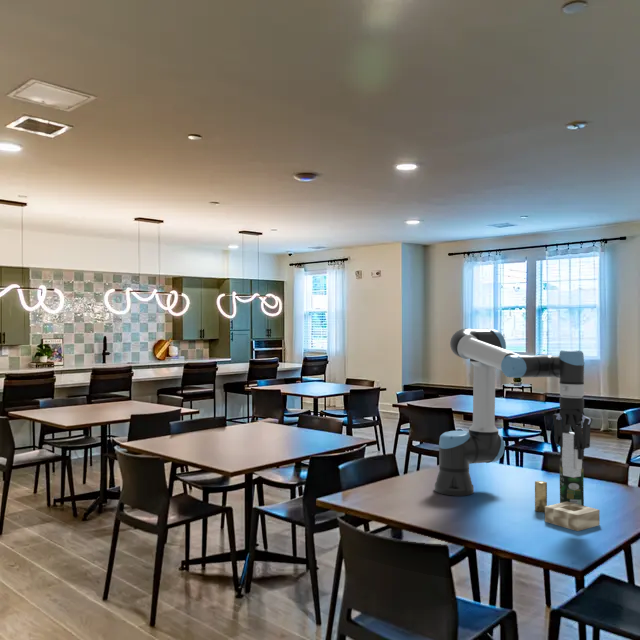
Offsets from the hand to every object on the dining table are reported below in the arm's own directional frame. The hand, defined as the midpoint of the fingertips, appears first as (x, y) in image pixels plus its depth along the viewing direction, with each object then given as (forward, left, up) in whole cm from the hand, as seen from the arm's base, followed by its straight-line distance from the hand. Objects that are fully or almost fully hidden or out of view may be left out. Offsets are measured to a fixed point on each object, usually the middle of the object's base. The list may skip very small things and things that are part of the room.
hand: (571, 467), depth 203 cm
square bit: (0, 0, -3) cm, 3 cm away
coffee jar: (-11, +16, -19) cm, 27 cm away
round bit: (-15, +4, -18) cm, 24 cm away
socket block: (0, 0, -18) cm, 18 cm away
